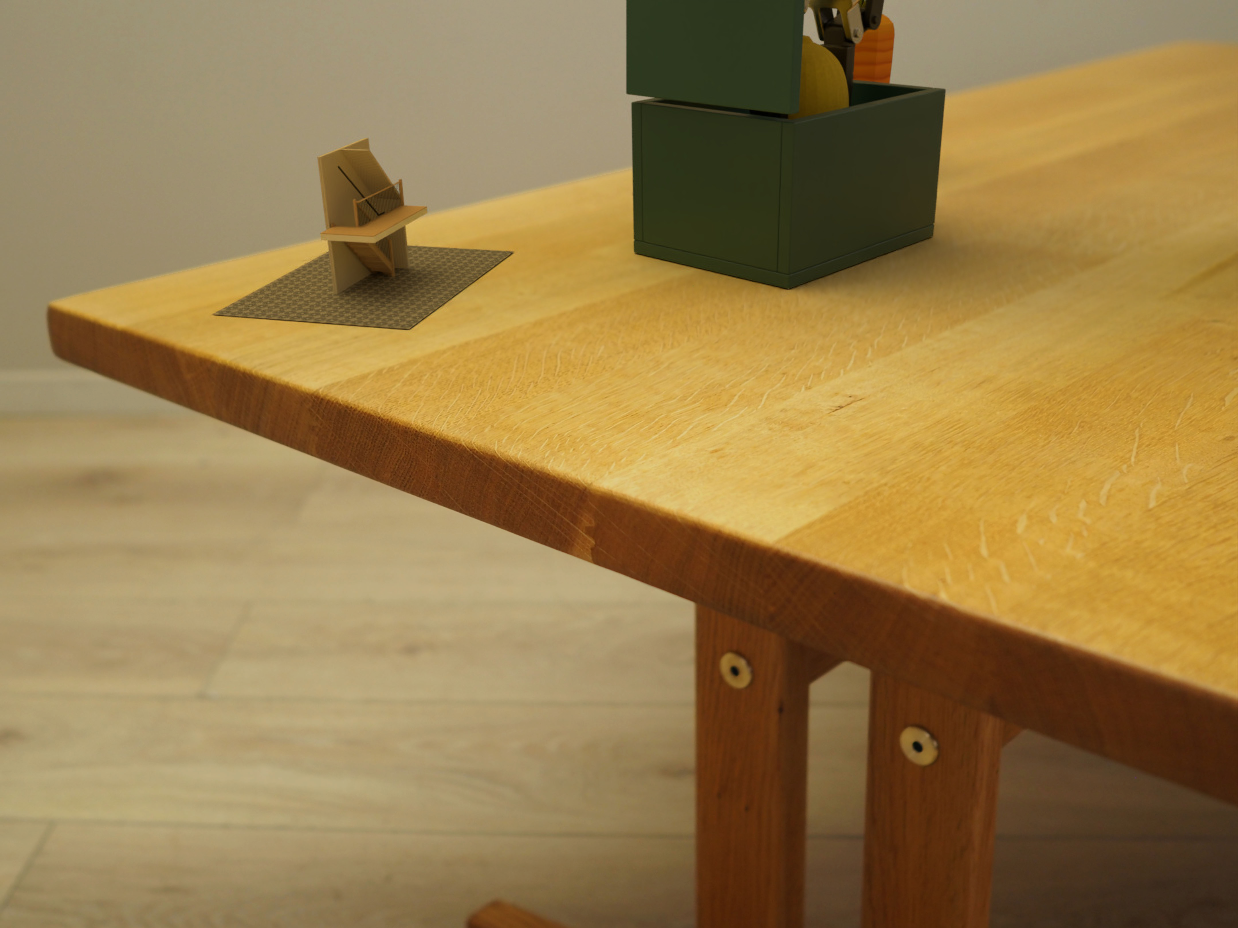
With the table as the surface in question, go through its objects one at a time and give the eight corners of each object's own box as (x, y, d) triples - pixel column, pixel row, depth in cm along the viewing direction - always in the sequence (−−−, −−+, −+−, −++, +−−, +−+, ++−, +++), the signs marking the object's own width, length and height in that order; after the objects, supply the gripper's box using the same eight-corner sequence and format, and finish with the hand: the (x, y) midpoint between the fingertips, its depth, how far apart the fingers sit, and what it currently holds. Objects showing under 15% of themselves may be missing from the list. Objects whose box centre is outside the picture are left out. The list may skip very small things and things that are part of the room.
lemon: (735, 179, 75) (737, 38, 71) (779, 163, 79) (783, 28, 75) (819, 189, 72) (825, 42, 68) (860, 172, 76) (868, 32, 72)
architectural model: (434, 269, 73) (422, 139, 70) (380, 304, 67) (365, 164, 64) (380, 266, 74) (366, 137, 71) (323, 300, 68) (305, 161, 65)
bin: (783, 208, 85) (787, 73, 81) (933, 236, 77) (946, 88, 74) (633, 253, 75) (630, 102, 72) (788, 289, 68) (794, 123, 64)
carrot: (831, 163, 98) (841, -44, 92) (893, 168, 96) (908, -44, 90) (810, 176, 94) (820, -40, 88) (876, 181, 92) (890, -40, 86)
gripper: (787, -220, 60) (776, 142, 67) (947, -210, 69) (923, 107, 76) (670, -209, 64) (671, 127, 71) (834, -201, 74) (821, 96, 81)
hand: (801, 115), depth 74 cm, fingers closed on lemon, 5 cm apart
